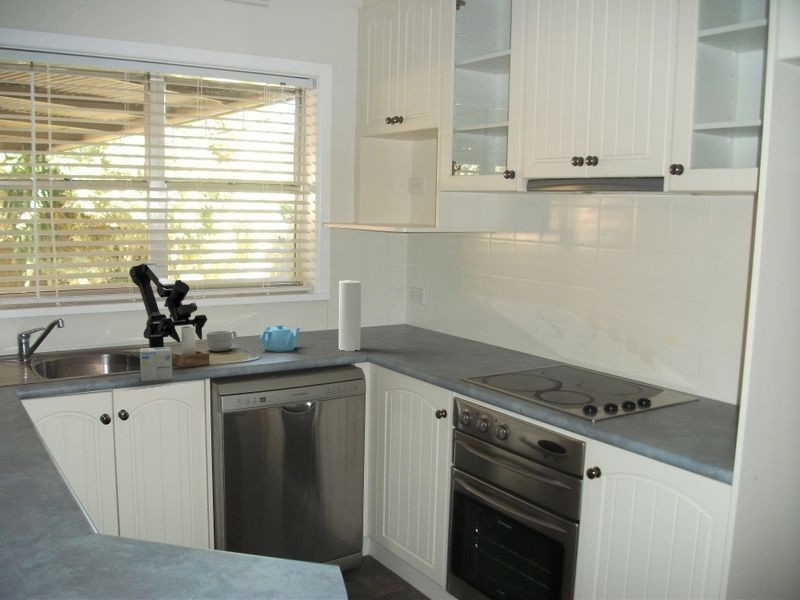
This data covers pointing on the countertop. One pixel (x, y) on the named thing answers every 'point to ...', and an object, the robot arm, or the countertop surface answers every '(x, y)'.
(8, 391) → the countertop surface
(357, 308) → the cylinder container
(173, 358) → the cradle
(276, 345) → the teapot
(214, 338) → the teacup
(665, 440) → the countertop surface
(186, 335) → the paper roll
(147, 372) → the light bulb box
